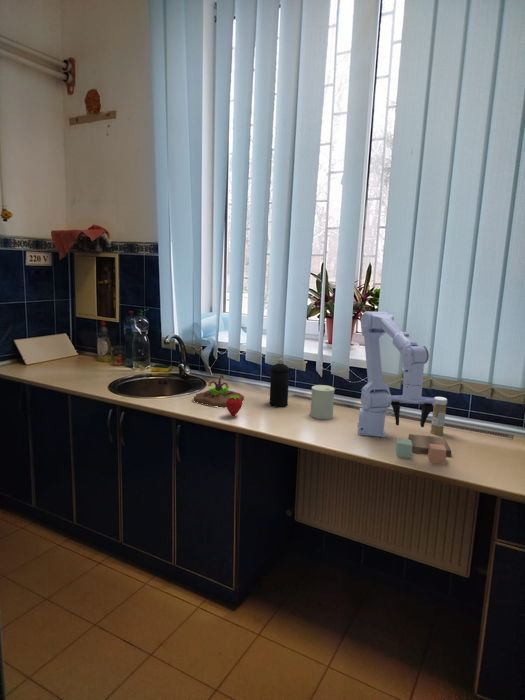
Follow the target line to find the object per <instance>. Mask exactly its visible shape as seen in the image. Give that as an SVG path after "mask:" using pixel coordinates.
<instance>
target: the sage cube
mask: <svg viewBox="0 0 525 700" xmlns="http://www.w3.org/2000/svg"><path fill="white" fill-rule="evenodd" d="M412 453H413V452H412V442H411V440H408V439H403V438H396V444H395V456H398V458H404V457H405V458H406V459H412V455H413V454H412Z"/></svg>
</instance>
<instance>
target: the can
mask: <svg viewBox="0 0 525 700" xmlns="http://www.w3.org/2000/svg"><path fill="white" fill-rule="evenodd" d="M335 390H336V388H335V386H334V387H333V386H331V385H326V384H325V385H324V384H317V385H313V386H311V395H310V396H311V397H310V400H311V402H310V411H309V412H310V413H309V416H310V417H311V418H313V417H314V419H316V418H317V419H316V420H331V419H333V418H334V404H335V403H334V402H335V401H334V400H335Z"/></svg>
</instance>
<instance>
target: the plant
mask: <svg viewBox="0 0 525 700" xmlns="http://www.w3.org/2000/svg"><path fill="white" fill-rule="evenodd" d="M225 378H226V376H225V375H224V374H221V375H220V376H219V378H218V381H217V382H218V383H217V382H216V381H215V380H213V381H211V382H209V383H208V384H207V386H208V387H207V389H208V390H206V391H204V392H199V393H196V394H195V395H194V396H193V402H194V401H195V402H198V403H203V404H202V405H204V404H208V405H211V406H218V407H227V406H226V402H227V400H228V399H229V397H230V396H233V395H234V396H235V395H237V396H240V397H239V398H241V399H242V401H243V400H244V401H245V396H244V395H243V394H241V393H239V392H237V391H233V390H230V385H229V384H228V383H227V382H221V381H222V379H223V380H224V379H225ZM212 383H213V384H214V386H213V385H212ZM224 385H225V387H224ZM244 401H243V402H244ZM195 402H194V403H195ZM198 403H197V404H198ZM208 405H207V406H208ZM211 406H210V407H211Z"/></svg>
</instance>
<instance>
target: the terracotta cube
mask: <svg viewBox="0 0 525 700" xmlns="http://www.w3.org/2000/svg"><path fill="white" fill-rule="evenodd" d="M446 457H447V456H446V448H445V446H444V445H437V444H429V451H428V454H427V458H428V460H429V463H432V464H433V463H434V464H441V463H442V464H444V465H445V464H446Z"/></svg>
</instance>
